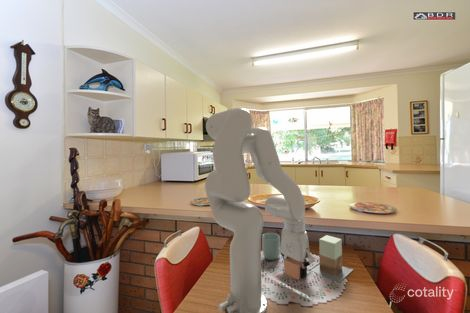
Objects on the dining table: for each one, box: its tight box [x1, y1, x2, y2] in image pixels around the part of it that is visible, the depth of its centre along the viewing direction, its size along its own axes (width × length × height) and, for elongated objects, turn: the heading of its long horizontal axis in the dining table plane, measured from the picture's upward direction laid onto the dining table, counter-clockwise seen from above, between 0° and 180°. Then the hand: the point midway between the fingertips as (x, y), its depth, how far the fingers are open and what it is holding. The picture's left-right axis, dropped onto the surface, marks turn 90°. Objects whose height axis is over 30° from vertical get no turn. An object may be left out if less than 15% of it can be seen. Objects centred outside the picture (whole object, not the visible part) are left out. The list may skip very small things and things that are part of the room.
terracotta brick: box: [283, 257, 304, 281], centre depth 84 cm, size 6×6×6 cm
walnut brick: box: [319, 254, 343, 276], centre depth 86 cm, size 6×6×6 cm
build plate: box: [308, 260, 354, 283], centre depth 86 cm, size 12×12×1 cm
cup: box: [261, 232, 281, 261], centre depth 98 cm, size 8×8×10 cm
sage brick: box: [318, 234, 343, 260], centre depth 86 cm, size 6×6×6 cm
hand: (295, 273), depth 84 cm, fingers closed on terracotta brick, 6 cm apart
